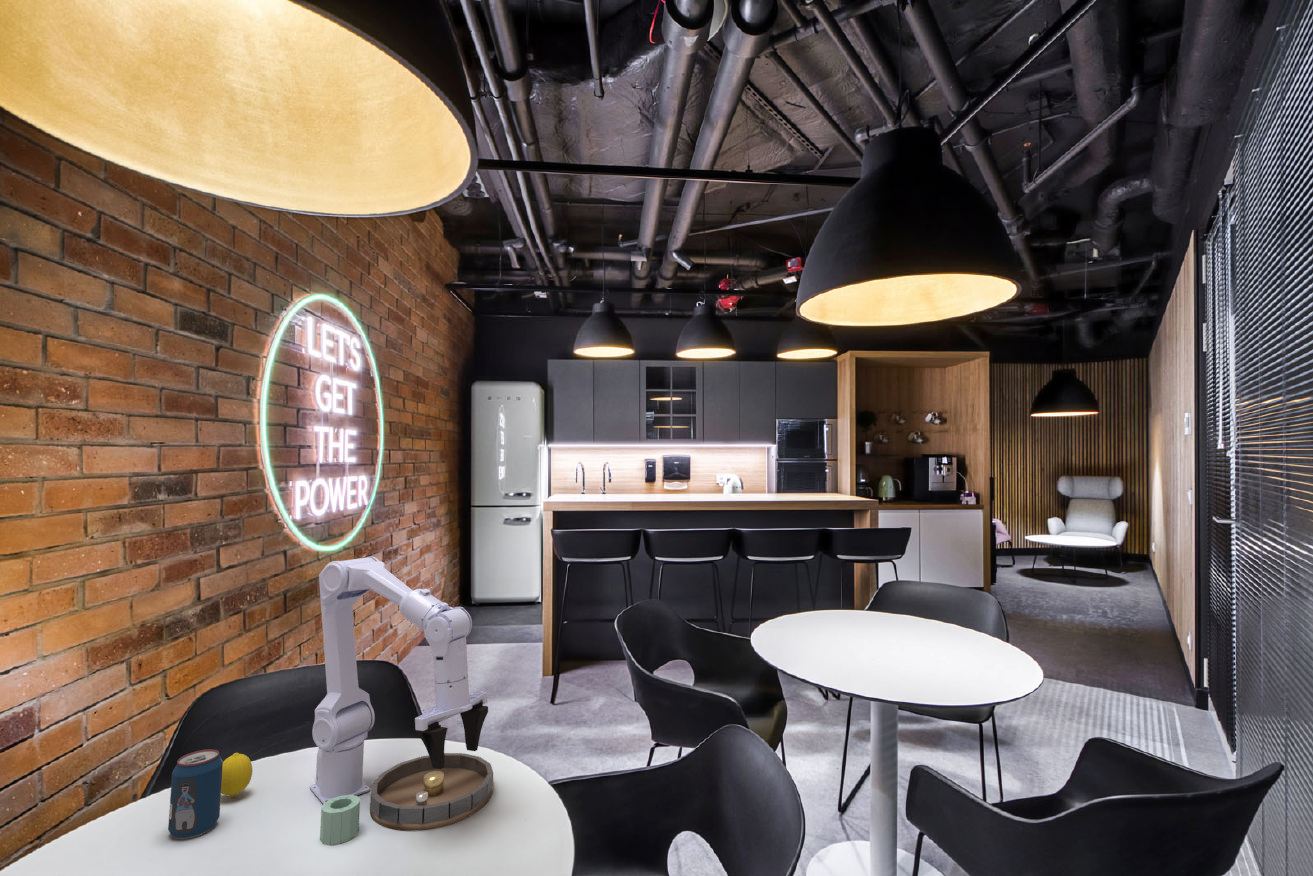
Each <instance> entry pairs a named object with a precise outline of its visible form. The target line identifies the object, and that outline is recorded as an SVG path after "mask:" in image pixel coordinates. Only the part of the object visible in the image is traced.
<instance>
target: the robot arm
mask: <svg viewBox="0 0 1313 876" xmlns="http://www.w3.org/2000/svg"><path fill="white" fill-rule="evenodd" d="M318 581H319V583H318V584H319V595H320V596H319V597H320V609H321V624H322V639H323V640H322V641H323V652H324V654H323V655H324V665H325V666H324V667H325V678H326V679H325V681H326V682H325V683H326V692H327V693H326V695H325V697H323V699H322V700H321V701H320V703H319V704H318V705H317V707H316V708H315V709H314V722H313V725H312V731H311V733H312V740H313V741H314V743H315V745H316V746H317V748H318V750H317V753H316V764H315V765H316V770H315V783H314V784H311V785H310V786H309V789H310V790H311V792H312V793H313V794H314V795H315V797H316V798H317V799H318V800H319V801H320V802H321V803H322V805H323V804H324V803H326V802H327V801H329V800H330V799H333V798H336V797H338V796H344V795H354V796H359V795H362V794H365V793H368V792H371V787H369V786H368V785H367V783H365V782H364V781H363V773H364V770H363V769H364V753H365V751H364V749H365V748H364V747H365V740H366V739H367V738H368V734H369V733H368V732H370V731H371V730H372V728H373V727H374V724H375V722H376V721H375V720H376V718H375V717H376V716H375V711H374V708H373V706H372V704H371V698H370V694H369V693H368V692H367V691H365V690H364V689H362V688H360V687H359V678H358V665H357V651H356V642H355V640H356V638H355V628H354V626H355V625H354V615H353V606H355V604H356V603H357V602H358V600H360V598H361V597H363V596H364V595H365V594H367V593H369V592H370V591H373V592H375V593H376V594H378V595H380V596H382V597H383V598H385V599H387V600H388V601H390V602H392V603H393V604H395V605H398V606H399V612H400V615H401V617H403V618H405V619H406V620H407V621H408V622H410V623H412V624H414V625H415V626H416V627H418V628H419V629H421V630H422V631H423V634H424V637H425V640H426V642H427V644H429V648H430V654H431V656H432V657H433V658H432V659H433V677H434V696H435V698H434V699H435V706H434V707H432V708H431V709H429V710H427V711H426V712H425V713H423V714H421V715H418V716H416V717H415V718H414V723H415V726H414V727H415V731H416V734H417V735H418V737H419V738H420V740H421V742H422V743H423V745H424V747H425V749H426V752H427V753H428V755H429V757H430V760H431V763H432V767H433V768H435V769H442V768H444V762H445V759H444V753H445V744H446V736H447V734H448V733H447V732H448V729H449V728H448V727H445V726H442V725H441V724H440V723H441V722H443V721H446V720H448V719H450V718H453V717H455V716H458V715H460V718H461V721H462V725H463V730H464V740H465V741H464V742H465V748H466V750H467V751H470V752H476V751H478V750H479V742H480V736H481V732H482V729H483V725H484V722H485V720H486V717H487V716H488V714H489V706H488V705H486V704H488V692H487V691H478V692H475V693H471V694H470V686H469V685H470V684H469V669H468V667H469V666H468V652H467V637H468V636H469V635H470V634H471V631H472V629H473V620H472V616H471V615H470V613H469V612H468V611H467V610H466V609H465V607H462V606H455V607H452V606H449V604H448V603H447V602H443V601H442V600H440V599H438V598H437V597H435V596H434V595H432V594H431V590H429V589H428V588H416V589H412V588H410V586H408V585H406V583H404V582H403V581H401V580H400V579H399V578H398V577H396V575H394V574H393V573H392V572H390V571H389V570H388V569H387V567H386V563H385V562H384V561H381V560H380V559H378V558H377V557H374V556H372V555H371V556H366V557H362V558H361V557H360V558H354V559H346V560H332V561H330V562H328V563H326V565H325V566H324V568H323V569H322V570H321V571H320V573H319V574H318Z"/></svg>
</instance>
